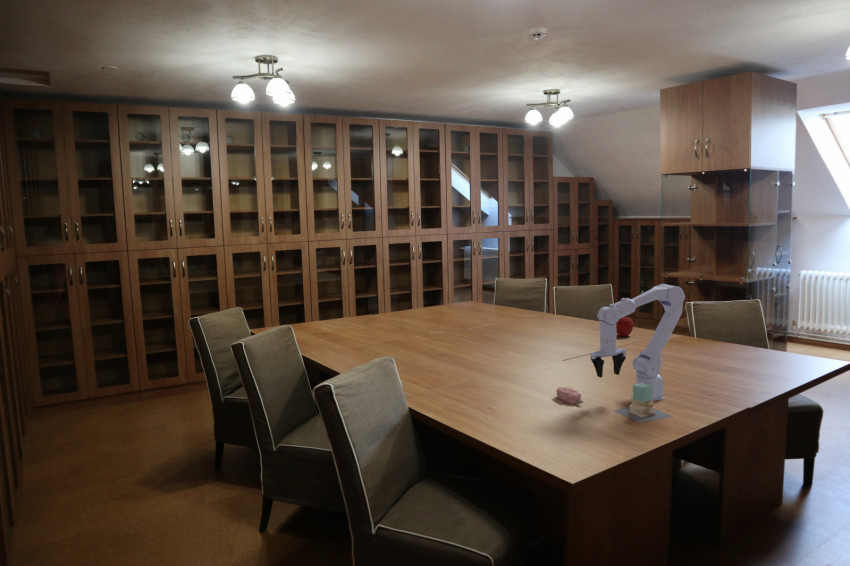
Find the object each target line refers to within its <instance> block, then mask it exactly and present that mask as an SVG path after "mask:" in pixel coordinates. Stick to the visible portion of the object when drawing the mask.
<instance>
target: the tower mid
mask: <svg viewBox="0 0 850 566" xmlns="http://www.w3.org/2000/svg"><path fill="white" fill-rule="evenodd" d="M631 405H632V406H633V407H637V408H640V409H643V410H644V409H648V408H651V407H654V401H653V400H649V401H646V402H641V401H637V400H634V399H633V398H631Z"/></svg>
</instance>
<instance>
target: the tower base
mask: <svg viewBox="0 0 850 566" xmlns="http://www.w3.org/2000/svg"><path fill="white" fill-rule="evenodd" d="M629 407H630V413H633V414H635V415H637V416H640V417H646V416H651V415H655V409H656V407H654V406H653V407H651V408H648V409H644V410H643V409H640V408H637V407H633V406H632V404H630V405H629Z"/></svg>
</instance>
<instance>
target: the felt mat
mask: <svg viewBox="0 0 850 566" xmlns="http://www.w3.org/2000/svg"><path fill="white" fill-rule="evenodd" d="M612 411H613V412H615V413H617V414H620V415H621V416H624V417H626V418H628V419H631V420H633V421H634V422H637V423H639V424H641V423H646V422H648V423H649V422H652V421H656V420H663V419H668V418H672V417H673V415H671V414H668V413H665V412H663V411H661V410H659V409H656V408H655V415H651V416H646V417H640V416H637V415H635V414H633V413H630V406H628V407H625V408H619V409H613V410H612Z"/></svg>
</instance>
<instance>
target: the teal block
mask: <svg viewBox="0 0 850 566" xmlns="http://www.w3.org/2000/svg"><path fill="white" fill-rule="evenodd" d="M632 395H633V397H632V399H634V400H637V401H641V402H646V401H649V400H652V385H647V384H643V383H639V384H636V383H635V384H633V385H632Z"/></svg>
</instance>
